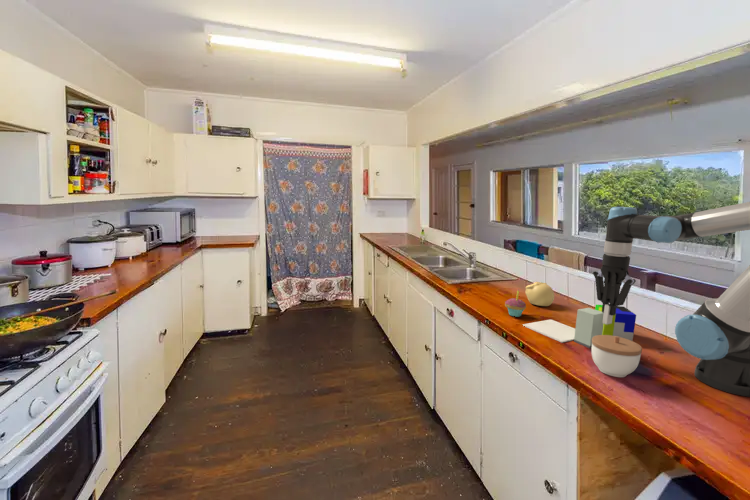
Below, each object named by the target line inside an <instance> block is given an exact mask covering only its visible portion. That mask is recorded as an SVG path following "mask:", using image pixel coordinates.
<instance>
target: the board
mask: <svg viewBox="0 0 750 500" xmlns="http://www.w3.org/2000/svg"><path fill="white" fill-rule="evenodd" d="M522 325H523V326H522V327H524V326H525V327H524V328H527V329H530V330H532V331H534V332H536V333H538V334H541V335H543V336H545V337H548V338H550V339H552V340H555V341H558V342H560V343H566V342H572V341H574V336H575V328H576V327H572V326H569V325H567V324H564V323H562V322H559V321H556V320H554V319H552V318H551V319H546V320H541V321H534V322H533V321H532V322H529V323H524V324H522Z"/></svg>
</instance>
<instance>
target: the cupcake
mask: <svg viewBox="0 0 750 500" xmlns="http://www.w3.org/2000/svg"><path fill="white" fill-rule="evenodd" d="M519 293H520V289H517V290H516V297H514V298H513V297H512V298H509V299H507V300H506V301H504V306H505V307H506V308H507V311H508V314H509V316H511V317H514V316H515V317H517V318H519V317H522V313H523V312H524V310H526V308H527V306H526V303H525V302H524V301H523V300H522V299H520V298H519ZM515 317H514V318H515Z"/></svg>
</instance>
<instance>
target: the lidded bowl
mask: <svg viewBox="0 0 750 500" xmlns="http://www.w3.org/2000/svg"><path fill="white" fill-rule="evenodd" d="M590 349H591V351H590V352H591V358H592V361H593V362H594V364H595V366H596V367H597V368H598V370H599V371H600V372H601V373H603V374H605V375H607V376H609V377H614V378H625V377H627V375H630V374H631V373H633V372H634V371H635V370H636V369H637V367H638V366H639V364H640V360H641V355H642V352H643V348H642V346H641V345H640V344H639V343H637V342H635V341H631V340H628V339H625V338H621V337H619V336H611V335H597V336H594V337H593V338H592V348H590Z"/></svg>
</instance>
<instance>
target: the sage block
mask: <svg viewBox="0 0 750 500" xmlns="http://www.w3.org/2000/svg"><path fill="white" fill-rule="evenodd" d="M576 313H577V314H576V319H575V320H576V321H575V327H574V328H575V336H574V340H573V343H576V344H579V345H580V346H584V347H585V348H587V349H591V348H592V338H593V337H594V336H597V335H602V332H603V324H604V323H602V322H603V314H604V313H602V312H601V311H598V310H595V308H591V307H585V308H579V309H577V312H576Z"/></svg>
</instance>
